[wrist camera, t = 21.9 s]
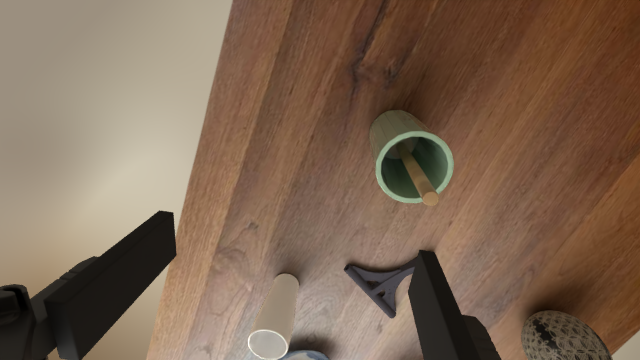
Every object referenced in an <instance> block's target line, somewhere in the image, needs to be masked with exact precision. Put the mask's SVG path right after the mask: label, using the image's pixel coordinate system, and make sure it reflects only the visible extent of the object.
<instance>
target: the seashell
mask: <svg viewBox="0 0 640 360" xmlns="http://www.w3.org/2000/svg"><path fill="white" fill-rule="evenodd" d="M277 360H330V359H329V358H328V357H327V356H326V355H325V354H323V353H321V352H319V351H315V350H297V351H292V352H288V353H286V354H285V355H284V356H283V357H282V358H280V359H277Z"/></svg>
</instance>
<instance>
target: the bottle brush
mask: <svg viewBox="0 0 640 360" xmlns="http://www.w3.org/2000/svg"><path fill="white" fill-rule="evenodd" d="M412 150H413V142H412V140H411V139H410V137H409V138H405V139H402V140H400V141H398V142H397V143H395V144H394V145H392V146H391V147H390V149H389V151H390V153H391V155H392V156H394V157H396V158H401V159H402V161H403V163H404V165H405V167H406V169H407V171H408V173H409V175H410V177H411V179H412V181H413V183H414V185H415V187H416V189H417V191H418V192H419V194H420V196H421V198H422V200H423V202H424V203H425V204H426V205H429V206H432V205H435V204H436V203H437V202H438V201H439V195H438V193H437V192H436V190H435V189H434V187H433V186H432V184H431V183H430V181H429V180H428V178H427V176H426V175H425V173H424V172H423V170H422V169H421V167H420V166H419V164H418V163H417V161H416V160H415V158H414V157H413V155H412V154H411V152H412Z"/></svg>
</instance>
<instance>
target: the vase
mask: <svg viewBox="0 0 640 360" xmlns="http://www.w3.org/2000/svg"><path fill="white" fill-rule="evenodd" d="M409 137H410V139H411V140H412V142H413V150H412V152H411V154H412V155H413V157H414V158H415V160H416V161H417V163H418V164H419V166H420V167H421V169H422V170H423V172H424V173H425V175H426V176H427V178H428V180H429V181H430V183H431V184H432V186H433V187H434V189H435V190H436V192H437V193H438V194H439V193H440V192H441V191H442V190H443V189H444V188H445V187H446V186H447V184H448V182H449V180H450V178H451V176H452V174H453V166H454V161H453V157H452V152H451V150H450V149H449V147H448V146H447V144H446V143H445V142H444V141H443V140H442V139H441V138H440V137H438V136H437V135H436V134H435V133H434V132H432V131H431V130H430V129H429V128H428V127H427V126H425V125H424V124H423V123H422V122H421V121H419V120H418V119H417V118H416V117H414V116H413V115H412V114H410V113H409V112H406V111H403V110H390V111H387V112H385V113H383V114H381V115H380V116H379V117H377V118H376V119H375V121H374V122H373V124H372V125H371V128H370V131H369V144H370V149H371V154H372V159H373V163H374V168H375V173H376V177H377V180H378V183H379V185H380V187H381V188H382V189H383V191H384V192H385V193H386V194H387V195H389V196H390V197H392V198H393V199H395V200H398V201H401V202H404V203H419V202H423V200H422V198H421V196H420V194H419V192H418V191H417V189H416V187H415V185H414V183H413V181H412V179H411V177H410V175H409V173H408V171H407V169H406V167H405V165H404V163H403V161H402V159H401V158H396V157H394V156H392V155H391V153H390V151H389V149H390V147H391V146H392V145H394V144H395V143H397V142H398V141H400V140H402V139H405V138H409Z"/></svg>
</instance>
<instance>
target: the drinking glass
mask: <svg viewBox="0 0 640 360" xmlns="http://www.w3.org/2000/svg"><path fill="white" fill-rule="evenodd" d="M298 290H299V283H298V280H297V279H296V278H295V277H294V276H293V275H290V274H286V273H284V274H280V275H278V276H277V277H276V278H275V279H274V281H273V284H272V286H271V288H270V290H269V292H268V294H267V296H266V298H265V300H264V302H263V304H262V306H261V308H260V310H259V312H258V314H257V316H256V318H255V321H254V323H253V326H252V328H251V331H250V335H249V338H248V346H249V348H250V350H251V351H252V352H253V353H254V354H255V355H256V356H258V357H260V358H262V359H266V360H276V359H280V358H282V357H283V356H284V355H285V354H286V353H287V351H288V348H289V344H290V340H291V336H292V332H293V326H294V318H295V310H296V302H297V294H298Z"/></svg>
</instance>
